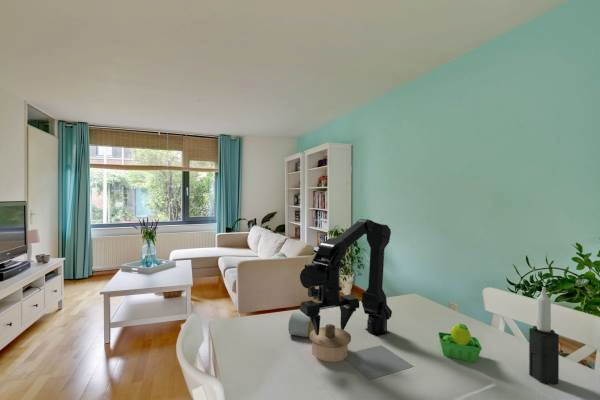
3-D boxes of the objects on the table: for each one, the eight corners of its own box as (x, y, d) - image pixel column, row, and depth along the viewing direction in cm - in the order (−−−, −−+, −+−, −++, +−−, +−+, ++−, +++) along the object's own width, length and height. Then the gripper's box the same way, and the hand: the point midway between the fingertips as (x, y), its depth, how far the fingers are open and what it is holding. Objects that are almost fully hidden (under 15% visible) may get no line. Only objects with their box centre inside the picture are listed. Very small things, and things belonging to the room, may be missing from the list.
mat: (381, 346, 98) (381, 344, 98) (413, 367, 86) (413, 366, 86) (340, 356, 92) (340, 355, 92) (369, 381, 79) (369, 379, 79)
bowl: (335, 342, 101) (335, 327, 101) (354, 358, 91) (354, 341, 91) (306, 349, 96) (306, 333, 96) (323, 366, 86) (323, 349, 86)
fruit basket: (476, 353, 95) (476, 317, 95) (483, 367, 86) (483, 328, 87) (437, 347, 99) (437, 312, 99) (440, 360, 90) (440, 323, 90)
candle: (526, 373, 84) (527, 284, 84) (543, 372, 84) (544, 284, 84) (543, 384, 78) (543, 289, 79) (561, 383, 79) (561, 289, 79)
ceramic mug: (310, 341, 101) (310, 319, 101) (287, 337, 104) (288, 315, 104) (318, 329, 111) (318, 309, 112) (297, 326, 114) (297, 306, 114)
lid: (336, 326, 102) (336, 315, 102) (359, 342, 90) (359, 330, 90) (302, 333, 96) (302, 321, 97) (322, 351, 85) (322, 338, 85)
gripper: (341, 274, 105) (340, 318, 105) (292, 279, 97) (292, 327, 97) (360, 281, 95) (360, 330, 95) (308, 288, 87) (307, 342, 87)
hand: (329, 332), depth 93 cm, fingers open, 9 cm apart
